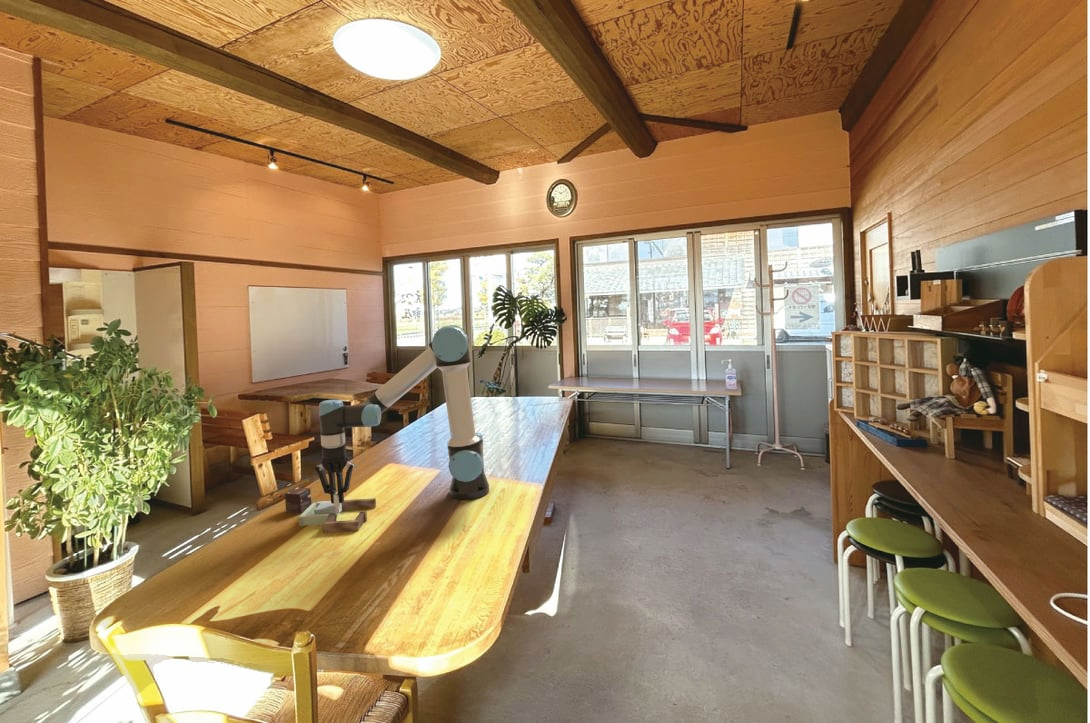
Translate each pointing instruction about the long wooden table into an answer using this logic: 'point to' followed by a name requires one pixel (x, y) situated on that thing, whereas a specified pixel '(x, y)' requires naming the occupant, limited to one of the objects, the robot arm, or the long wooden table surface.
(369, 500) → the open corridor walls
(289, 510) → the box
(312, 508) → the bay
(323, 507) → the grey square block
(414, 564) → the long wooden table surface
